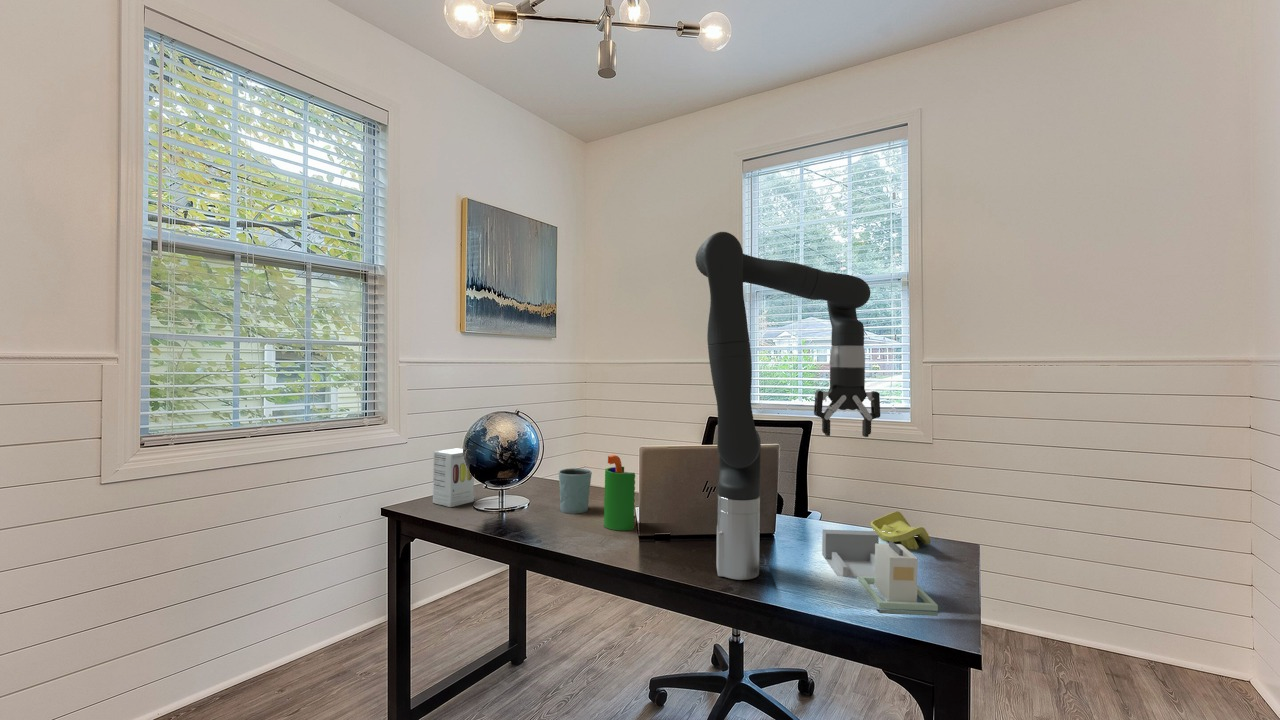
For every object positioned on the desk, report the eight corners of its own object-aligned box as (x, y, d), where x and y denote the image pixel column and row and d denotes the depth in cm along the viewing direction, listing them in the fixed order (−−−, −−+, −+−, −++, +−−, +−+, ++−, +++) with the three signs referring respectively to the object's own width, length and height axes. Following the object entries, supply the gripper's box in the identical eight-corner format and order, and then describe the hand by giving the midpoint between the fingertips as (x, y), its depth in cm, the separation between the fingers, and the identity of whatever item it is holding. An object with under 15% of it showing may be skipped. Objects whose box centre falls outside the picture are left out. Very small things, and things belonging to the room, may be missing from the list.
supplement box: (450, 508, 173) (450, 454, 173) (431, 503, 178) (432, 451, 178) (474, 501, 181) (475, 450, 181) (456, 497, 186) (456, 447, 186)
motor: (643, 527, 155) (643, 456, 155) (616, 533, 150) (616, 459, 150) (623, 518, 163) (624, 451, 163) (597, 523, 158) (597, 453, 158)
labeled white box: (889, 604, 106) (890, 552, 106) (874, 586, 114) (875, 538, 114) (917, 605, 106) (918, 553, 106) (900, 587, 114) (901, 539, 114)
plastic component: (868, 522, 154) (902, 508, 153) (880, 547, 153) (915, 533, 152) (888, 540, 135) (927, 524, 134) (902, 568, 134) (942, 552, 133)
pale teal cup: (552, 508, 173) (553, 470, 173) (580, 503, 179) (580, 466, 179) (568, 516, 165) (569, 476, 165) (597, 510, 171) (597, 472, 171)
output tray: (879, 613, 104) (879, 602, 104) (858, 585, 117) (858, 576, 117) (937, 615, 103) (937, 605, 103) (910, 587, 116) (910, 578, 116)
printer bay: (837, 580, 119) (837, 548, 119) (822, 558, 132) (822, 529, 132) (894, 582, 118) (895, 550, 118) (873, 560, 131) (874, 531, 131)
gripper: (819, 365, 124) (818, 437, 124) (885, 366, 123) (884, 439, 123) (811, 365, 131) (811, 433, 131) (873, 365, 130) (872, 434, 130)
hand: (846, 436), depth 127 cm, fingers open, 8 cm apart
